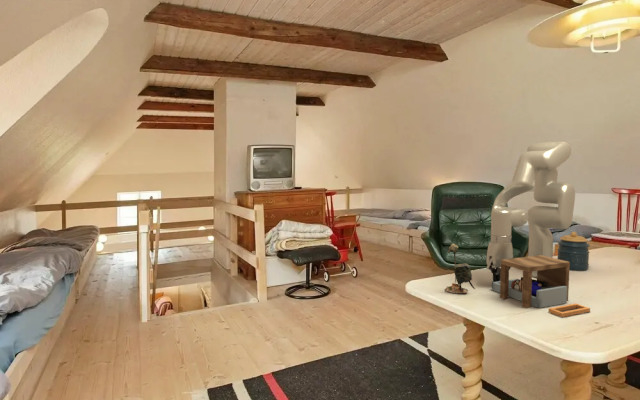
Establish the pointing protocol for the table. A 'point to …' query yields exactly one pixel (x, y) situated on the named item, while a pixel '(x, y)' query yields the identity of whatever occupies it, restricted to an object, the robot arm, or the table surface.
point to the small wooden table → (546, 271)
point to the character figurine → (536, 285)
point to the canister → (574, 251)
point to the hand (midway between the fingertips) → (499, 282)
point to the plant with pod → (459, 274)
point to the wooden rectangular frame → (569, 310)
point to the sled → (537, 294)
